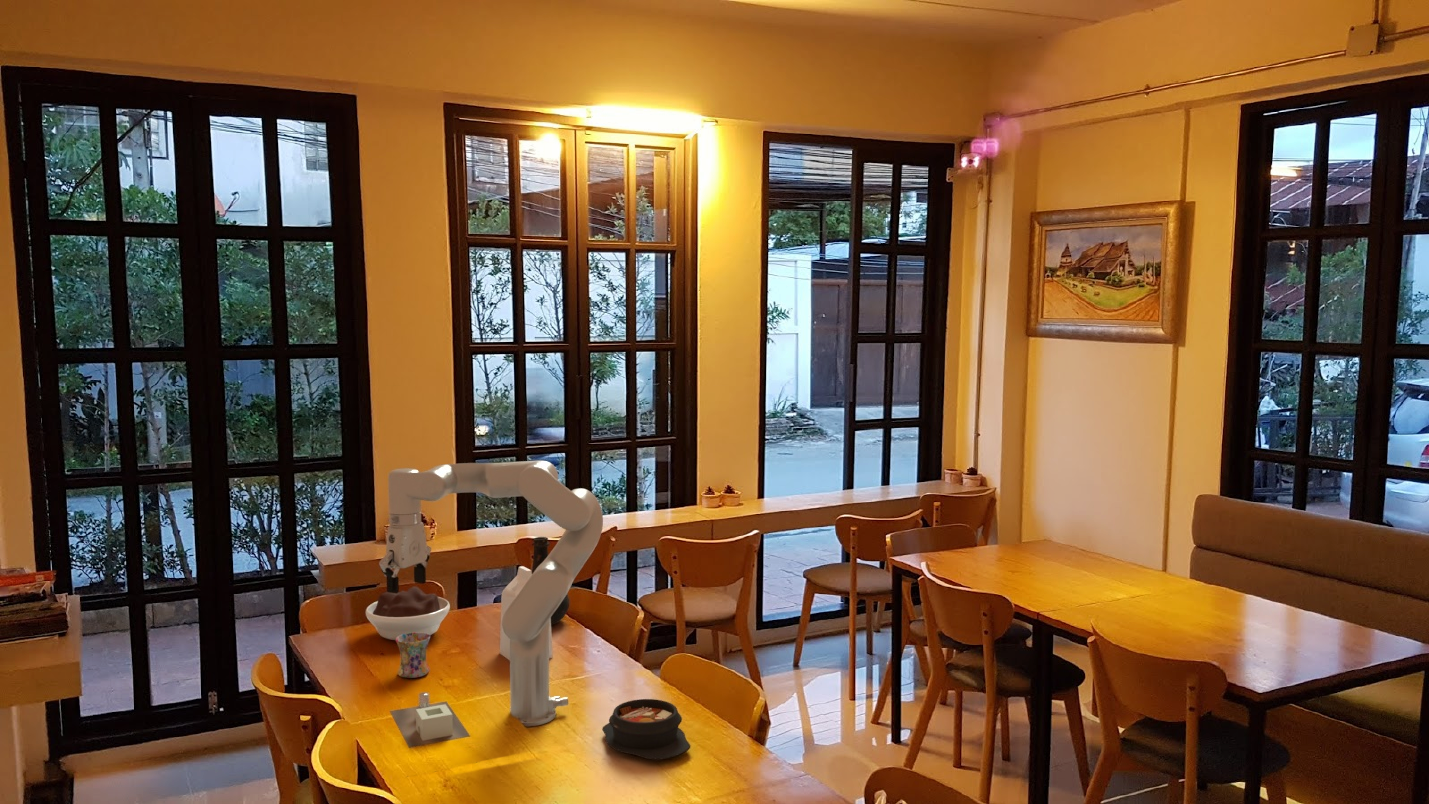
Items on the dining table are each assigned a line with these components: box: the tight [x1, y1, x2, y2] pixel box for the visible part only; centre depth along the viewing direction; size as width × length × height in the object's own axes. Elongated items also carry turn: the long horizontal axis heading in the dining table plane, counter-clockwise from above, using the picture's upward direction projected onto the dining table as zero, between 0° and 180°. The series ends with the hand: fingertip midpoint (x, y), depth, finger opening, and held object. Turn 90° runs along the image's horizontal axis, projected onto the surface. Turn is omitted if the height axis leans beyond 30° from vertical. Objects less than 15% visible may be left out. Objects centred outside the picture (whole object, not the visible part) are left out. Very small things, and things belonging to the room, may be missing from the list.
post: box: [418, 691, 430, 709], centre depth 253 cm, size 2×4×6 cm, turn 28°
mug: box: [395, 632, 431, 679], centre depth 286 cm, size 12×9×11 cm
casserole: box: [601, 698, 691, 761], centre depth 240 cm, size 25×19×8 cm
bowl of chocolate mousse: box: [365, 585, 451, 641], centre depth 319 cm, size 25×25×15 cm
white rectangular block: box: [416, 704, 453, 740], centre depth 243 cm, size 7×7×5 cm
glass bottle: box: [530, 536, 570, 626], centre depth 332 cm, size 18×18×28 cm
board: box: [389, 701, 471, 749], centre depth 248 cm, size 14×24×2 cm, turn 28°
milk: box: [499, 565, 554, 661], centre depth 301 cm, size 12×12×26 cm
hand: (406, 587), depth 253 cm, fingers open, 9 cm apart
